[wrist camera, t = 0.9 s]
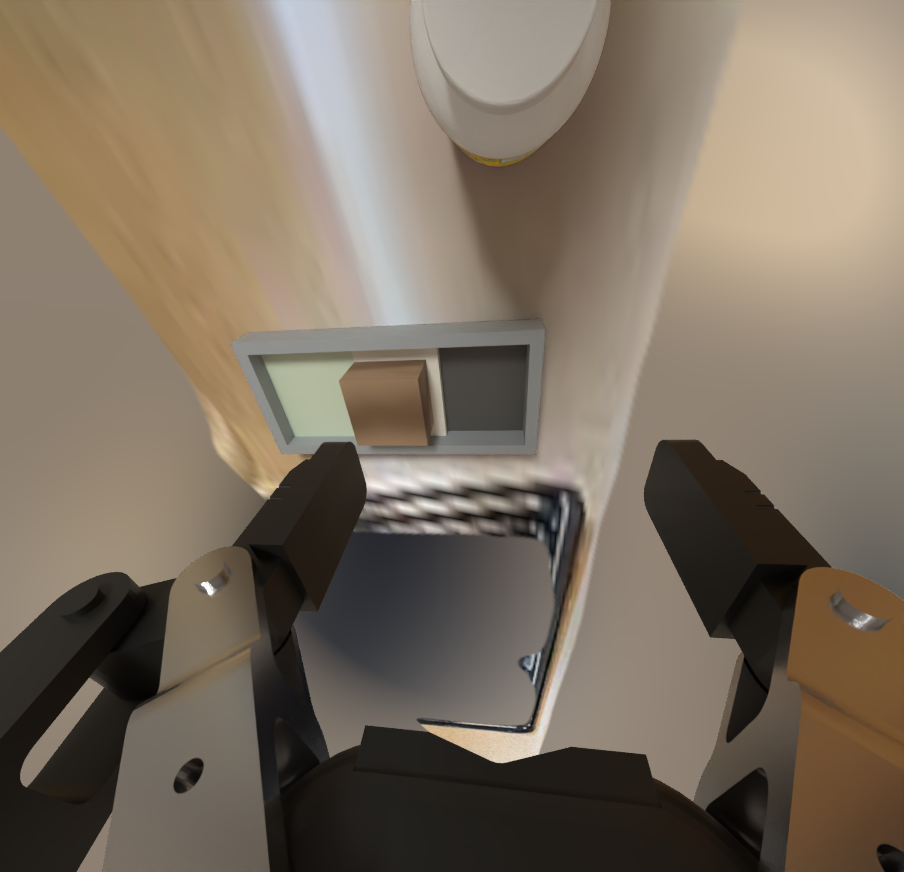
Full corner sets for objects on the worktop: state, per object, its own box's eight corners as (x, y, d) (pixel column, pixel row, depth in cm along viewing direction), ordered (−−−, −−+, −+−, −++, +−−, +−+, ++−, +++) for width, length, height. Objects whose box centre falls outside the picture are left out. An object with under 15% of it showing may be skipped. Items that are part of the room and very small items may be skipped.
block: (354, 361, 28) (338, 381, 26) (425, 359, 28) (417, 378, 25) (370, 422, 32) (357, 445, 29) (433, 422, 31) (427, 445, 28)
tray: (248, 332, 29) (230, 343, 27) (541, 318, 26) (545, 329, 24) (293, 438, 35) (281, 454, 33) (533, 437, 32) (535, 454, 30)
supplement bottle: (421, 54, 19) (326, -120, 8) (542, -39, 16) (624, -440, 6) (471, 191, 22) (449, 193, 11) (578, 129, 20) (671, 61, 9)
